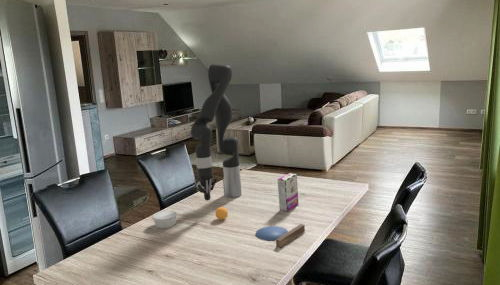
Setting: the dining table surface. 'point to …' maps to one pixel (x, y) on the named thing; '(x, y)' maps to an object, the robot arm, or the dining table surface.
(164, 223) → the ramekin
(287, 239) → the wooden stick
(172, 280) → the dining table surface
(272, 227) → the blue disc
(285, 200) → the candy bar box
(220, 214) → the ball
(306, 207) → the dining table surface
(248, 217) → the dining table surface
